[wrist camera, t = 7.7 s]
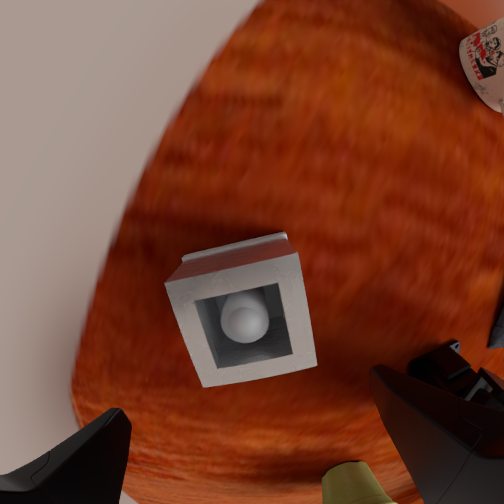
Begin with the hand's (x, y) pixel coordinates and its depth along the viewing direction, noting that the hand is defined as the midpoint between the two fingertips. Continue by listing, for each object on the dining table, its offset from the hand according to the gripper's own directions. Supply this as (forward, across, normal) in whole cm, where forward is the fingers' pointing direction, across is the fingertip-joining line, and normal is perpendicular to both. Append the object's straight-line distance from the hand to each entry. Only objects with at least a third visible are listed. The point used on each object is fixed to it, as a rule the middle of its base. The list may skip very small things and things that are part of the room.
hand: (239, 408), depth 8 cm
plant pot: (+12, -6, +28) cm, 31 cm away
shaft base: (+12, 0, 0) cm, 12 cm away
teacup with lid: (+12, -28, -14) cm, 34 cm away
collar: (+11, 0, 0) cm, 11 cm away
